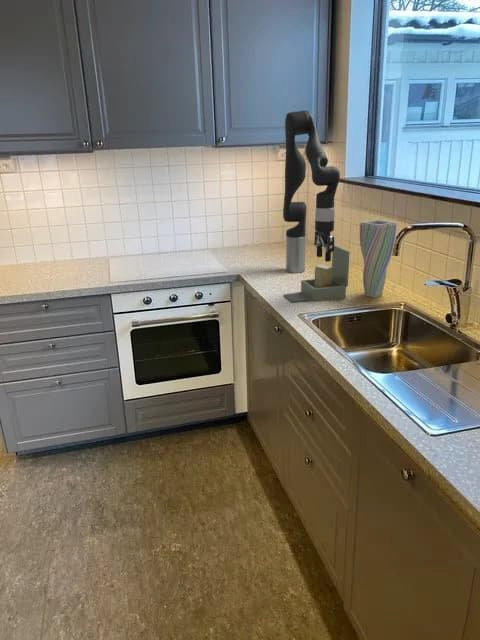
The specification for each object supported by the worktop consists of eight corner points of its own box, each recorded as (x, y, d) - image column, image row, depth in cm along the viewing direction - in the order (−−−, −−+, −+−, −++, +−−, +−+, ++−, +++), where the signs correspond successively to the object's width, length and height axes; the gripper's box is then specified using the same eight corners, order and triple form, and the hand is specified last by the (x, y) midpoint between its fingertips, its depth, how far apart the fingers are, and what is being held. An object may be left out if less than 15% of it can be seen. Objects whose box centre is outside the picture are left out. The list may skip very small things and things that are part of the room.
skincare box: (313, 294, 208) (314, 265, 203) (319, 291, 211) (320, 263, 206) (325, 297, 203) (326, 268, 199) (332, 294, 206) (333, 266, 202)
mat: (283, 295, 207) (283, 294, 207) (301, 293, 209) (301, 292, 209) (291, 303, 198) (291, 301, 198) (310, 300, 200) (310, 299, 200)
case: (300, 290, 213) (300, 247, 206) (331, 287, 216) (333, 244, 209) (313, 301, 199) (314, 255, 192) (347, 297, 202) (349, 251, 196)
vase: (375, 302, 195) (380, 226, 185) (349, 294, 206) (353, 222, 195) (397, 295, 203) (403, 222, 192) (371, 288, 213) (375, 218, 202)
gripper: (309, 217, 202) (308, 256, 207) (323, 222, 189) (322, 263, 194) (326, 216, 203) (324, 254, 209) (341, 221, 190) (339, 262, 196)
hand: (323, 259), depth 202 cm, fingers open, 8 cm apart
